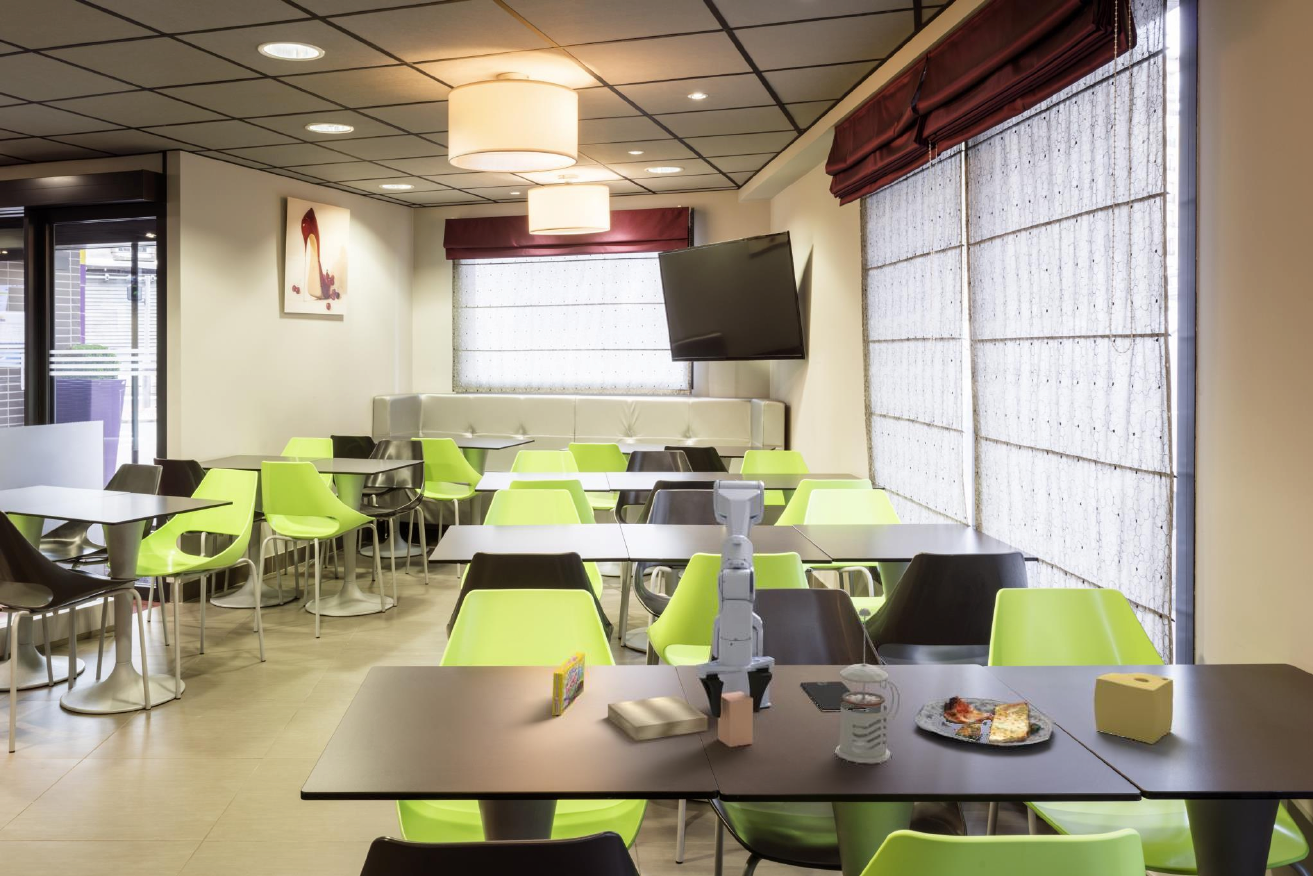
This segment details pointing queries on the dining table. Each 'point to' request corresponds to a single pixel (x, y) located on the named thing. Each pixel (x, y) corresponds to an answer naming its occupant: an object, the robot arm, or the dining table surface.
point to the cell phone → (828, 694)
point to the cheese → (1134, 705)
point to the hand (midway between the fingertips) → (735, 713)
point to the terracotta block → (736, 719)
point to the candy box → (568, 683)
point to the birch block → (657, 717)
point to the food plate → (1008, 722)
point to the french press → (864, 714)
